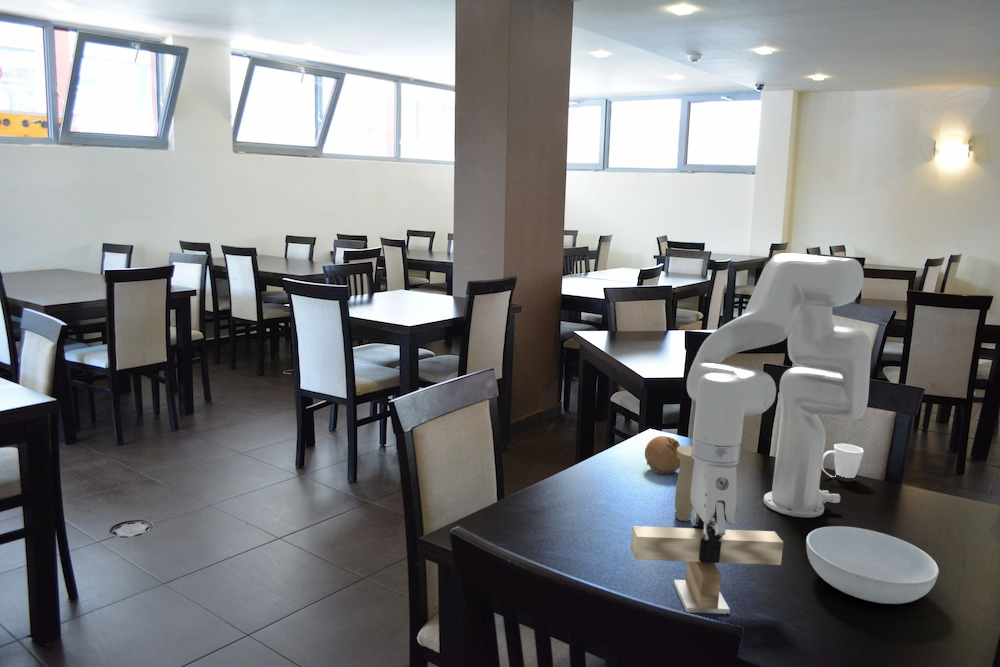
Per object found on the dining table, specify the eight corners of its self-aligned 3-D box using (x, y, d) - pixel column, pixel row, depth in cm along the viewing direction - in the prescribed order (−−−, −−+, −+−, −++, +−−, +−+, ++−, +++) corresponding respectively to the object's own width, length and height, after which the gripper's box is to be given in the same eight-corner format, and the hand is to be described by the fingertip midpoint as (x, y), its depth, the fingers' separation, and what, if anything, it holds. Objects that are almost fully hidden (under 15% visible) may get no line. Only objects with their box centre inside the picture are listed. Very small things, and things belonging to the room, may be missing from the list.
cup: (865, 484, 182) (870, 453, 180) (825, 483, 181) (829, 451, 180) (851, 474, 189) (855, 443, 187) (812, 472, 188) (816, 442, 187)
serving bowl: (873, 630, 118) (879, 590, 117) (776, 569, 137) (781, 534, 136) (961, 607, 126) (967, 570, 125) (858, 552, 145) (863, 519, 144)
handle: (690, 513, 160) (697, 446, 157) (697, 526, 154) (704, 456, 151) (668, 511, 160) (674, 445, 157) (674, 524, 154) (680, 455, 151)
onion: (676, 486, 183) (696, 456, 178) (643, 477, 181) (662, 447, 176) (666, 460, 191) (684, 431, 186) (633, 452, 189) (652, 422, 184)
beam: (771, 553, 126) (774, 531, 125) (780, 564, 122) (783, 542, 121) (630, 548, 126) (632, 526, 125) (635, 559, 122) (636, 536, 121)
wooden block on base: (713, 585, 130) (717, 549, 128) (729, 613, 121) (733, 575, 120) (673, 583, 130) (676, 547, 128) (686, 612, 121) (690, 573, 119)
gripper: (756, 469, 112) (743, 581, 116) (723, 434, 129) (712, 533, 132) (707, 467, 112) (695, 579, 115) (680, 432, 129) (670, 532, 132)
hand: (704, 553), depth 124 cm, fingers closed on beam, 4 cm apart
